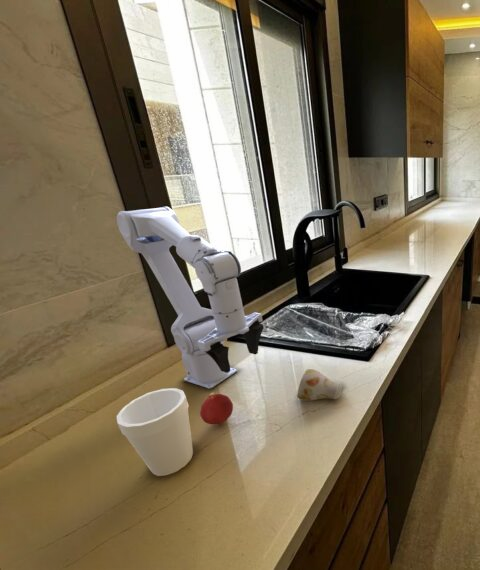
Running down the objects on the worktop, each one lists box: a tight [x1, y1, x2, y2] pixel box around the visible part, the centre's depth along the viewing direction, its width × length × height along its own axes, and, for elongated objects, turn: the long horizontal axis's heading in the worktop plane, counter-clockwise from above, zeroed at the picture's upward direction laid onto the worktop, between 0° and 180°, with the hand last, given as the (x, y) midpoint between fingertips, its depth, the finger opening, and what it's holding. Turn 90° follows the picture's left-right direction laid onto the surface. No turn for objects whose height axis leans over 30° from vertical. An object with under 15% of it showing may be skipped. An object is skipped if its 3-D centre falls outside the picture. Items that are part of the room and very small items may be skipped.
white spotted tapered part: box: [296, 368, 343, 402], centre depth 77 cm, size 8×10×10 cm
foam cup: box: [116, 387, 194, 477], centre depth 59 cm, size 10×9×13 cm
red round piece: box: [199, 392, 234, 426], centre depth 69 cm, size 6×6×8 cm
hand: (240, 361), depth 75 cm, fingers open, 7 cm apart
